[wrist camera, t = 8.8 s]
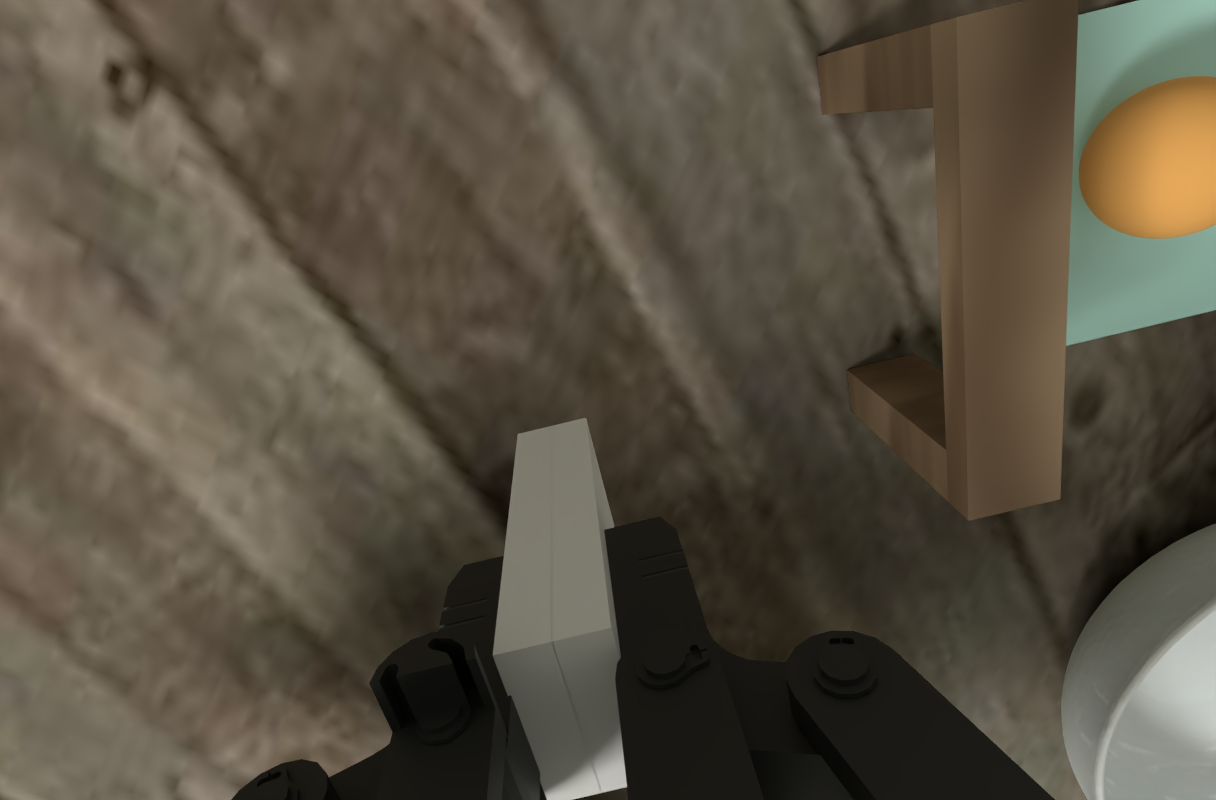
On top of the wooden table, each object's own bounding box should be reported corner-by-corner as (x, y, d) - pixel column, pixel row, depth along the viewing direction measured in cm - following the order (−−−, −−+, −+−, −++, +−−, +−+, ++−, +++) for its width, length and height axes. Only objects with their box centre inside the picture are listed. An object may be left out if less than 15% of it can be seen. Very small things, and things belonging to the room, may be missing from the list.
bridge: (896, 37, 25) (1079, -14, 16) (916, 395, 30) (1060, 499, 22) (816, 56, 25) (956, 17, 16) (850, 410, 30) (968, 521, 22)
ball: (1119, 272, 24) (1060, 236, 29) (1315, 230, 22) (1217, 199, 27) (1114, 111, 22) (1051, 101, 27) (1331, 51, 20) (1221, 52, 25)
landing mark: (1339, 278, 30) (1344, 279, 29) (1048, 348, 30) (1051, 349, 30) (1406, -66, 25) (1412, -68, 24) (1057, 20, 25) (1061, 19, 25)
